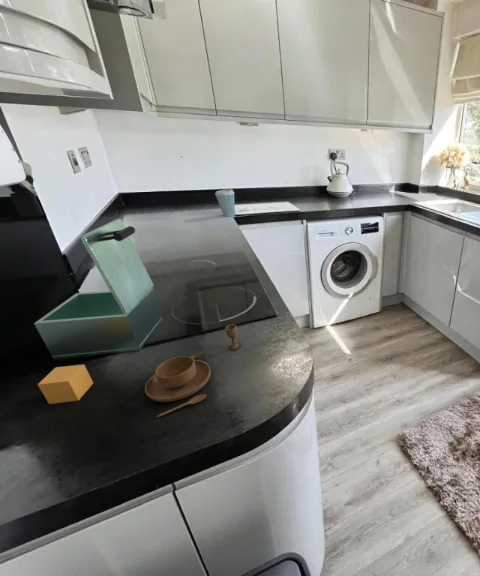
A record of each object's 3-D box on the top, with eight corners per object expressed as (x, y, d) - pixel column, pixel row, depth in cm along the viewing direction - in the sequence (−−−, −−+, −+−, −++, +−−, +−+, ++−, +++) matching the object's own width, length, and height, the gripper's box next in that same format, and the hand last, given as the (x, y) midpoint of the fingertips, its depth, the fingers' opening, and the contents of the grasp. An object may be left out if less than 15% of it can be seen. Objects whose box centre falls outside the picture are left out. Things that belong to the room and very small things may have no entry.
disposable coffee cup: (224, 218, 193) (219, 192, 187) (216, 215, 200) (211, 190, 193) (241, 215, 201) (237, 190, 194) (232, 212, 207) (228, 188, 200)
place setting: (144, 371, 72) (136, 350, 69) (239, 341, 82) (234, 321, 80) (150, 424, 59) (140, 400, 56) (260, 380, 70) (256, 358, 67)
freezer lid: (79, 236, 65) (106, 232, 66) (117, 218, 78) (139, 215, 79) (123, 314, 74) (147, 310, 74) (151, 286, 87) (170, 283, 87)
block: (49, 404, 63) (37, 384, 61) (65, 386, 67) (55, 367, 65) (78, 400, 64) (68, 381, 62) (93, 382, 68) (84, 364, 66)
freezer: (53, 359, 75) (33, 323, 70) (91, 325, 88) (76, 293, 83) (139, 350, 78) (126, 315, 74) (163, 319, 91) (153, 287, 87)
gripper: (-27, 107, 53) (22, 212, 60) (-158, 99, 38) (-70, 240, 45) (28, 109, 54) (70, 210, 62) (-76, 101, 39) (-4, 237, 47)
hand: (11, 223), depth 54 cm, fingers open, 9 cm apart
